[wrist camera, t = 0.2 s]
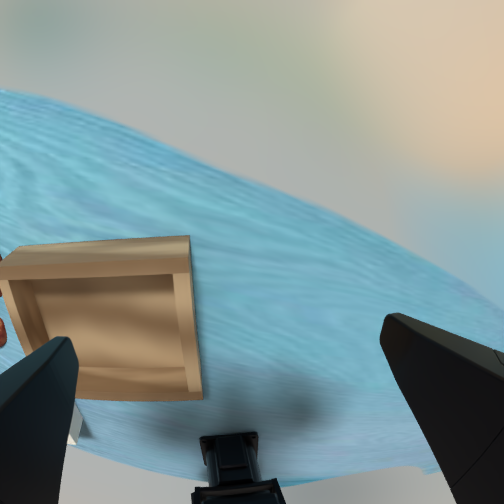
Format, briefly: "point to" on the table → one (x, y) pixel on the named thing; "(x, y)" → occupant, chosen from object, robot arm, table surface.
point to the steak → (2, 325)
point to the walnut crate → (111, 313)
